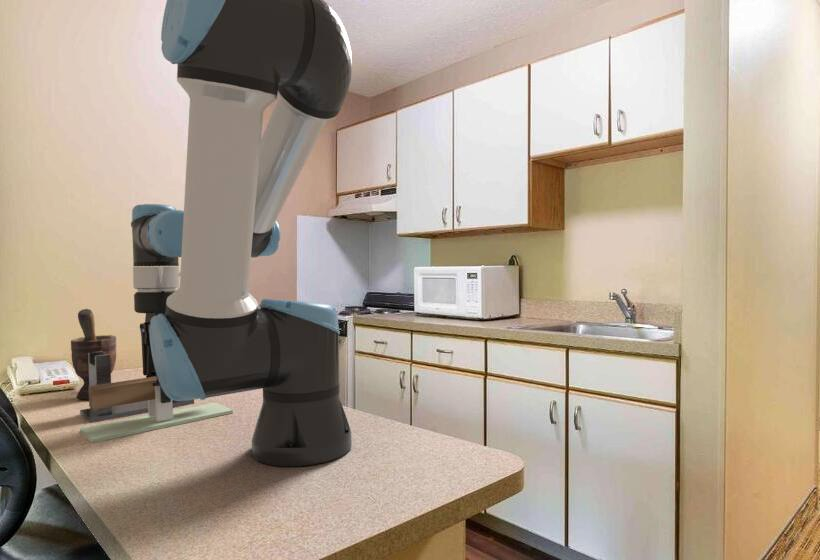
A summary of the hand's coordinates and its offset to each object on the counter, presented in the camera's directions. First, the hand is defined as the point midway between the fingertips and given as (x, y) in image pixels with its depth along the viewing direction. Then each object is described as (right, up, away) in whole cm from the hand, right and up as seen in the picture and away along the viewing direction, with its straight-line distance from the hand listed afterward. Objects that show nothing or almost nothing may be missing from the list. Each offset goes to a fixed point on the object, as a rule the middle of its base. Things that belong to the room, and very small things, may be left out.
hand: (160, 417), depth 97 cm
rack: (-9, -1, +10) cm, 13 cm away
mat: (0, -1, 0) cm, 1 cm away
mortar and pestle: (-23, -1, +18) cm, 29 cm away
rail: (0, +4, 0) cm, 4 cm away
